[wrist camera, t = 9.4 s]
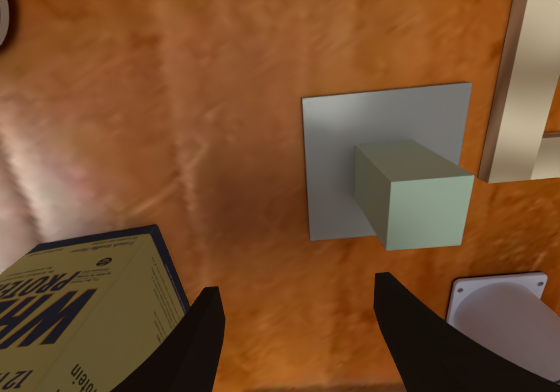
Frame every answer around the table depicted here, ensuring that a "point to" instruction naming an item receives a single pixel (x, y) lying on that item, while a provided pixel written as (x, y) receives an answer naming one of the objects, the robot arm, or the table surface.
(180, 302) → the protein box
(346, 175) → the coaster
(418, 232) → the part block
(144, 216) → the table surface
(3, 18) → the beverage can
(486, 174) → the beige square frame
